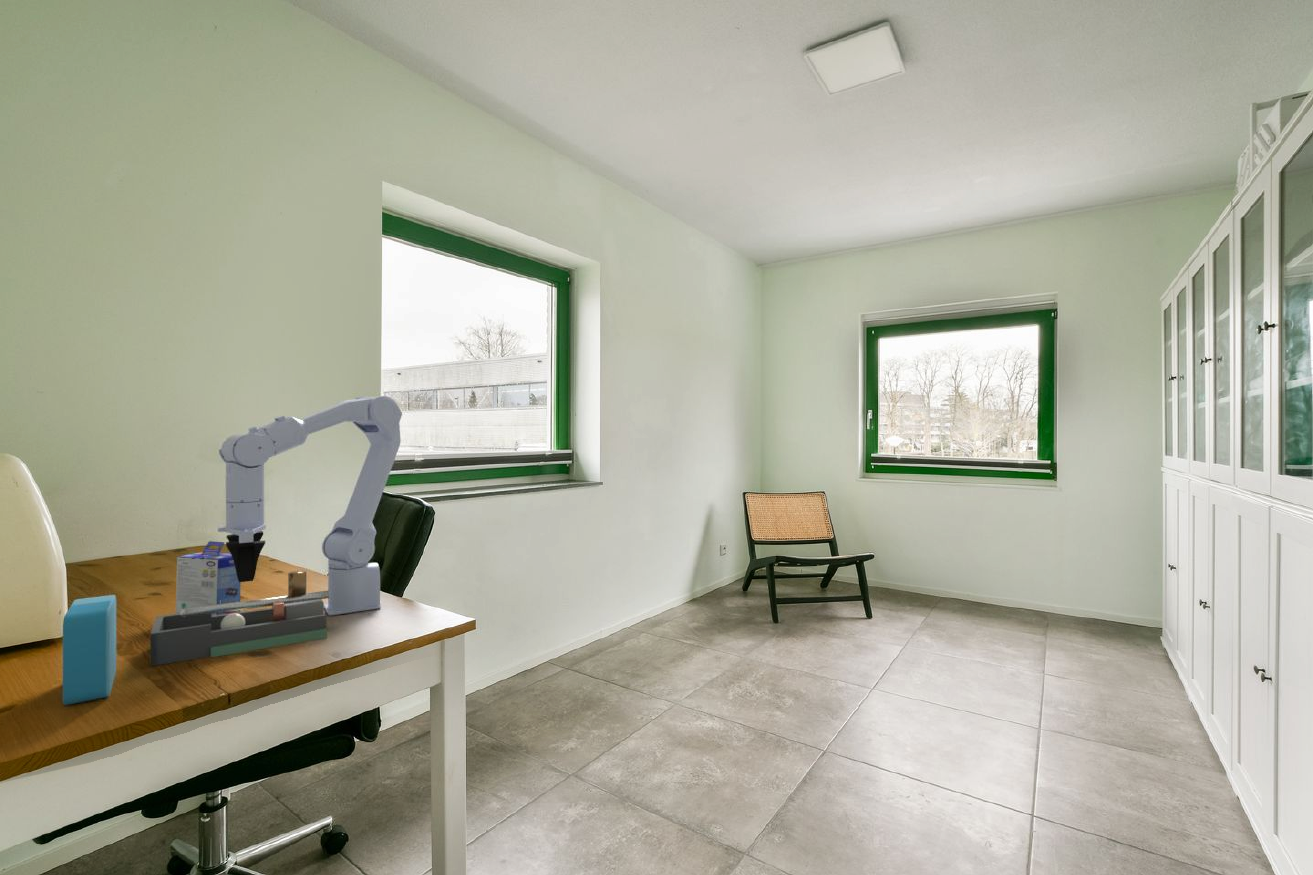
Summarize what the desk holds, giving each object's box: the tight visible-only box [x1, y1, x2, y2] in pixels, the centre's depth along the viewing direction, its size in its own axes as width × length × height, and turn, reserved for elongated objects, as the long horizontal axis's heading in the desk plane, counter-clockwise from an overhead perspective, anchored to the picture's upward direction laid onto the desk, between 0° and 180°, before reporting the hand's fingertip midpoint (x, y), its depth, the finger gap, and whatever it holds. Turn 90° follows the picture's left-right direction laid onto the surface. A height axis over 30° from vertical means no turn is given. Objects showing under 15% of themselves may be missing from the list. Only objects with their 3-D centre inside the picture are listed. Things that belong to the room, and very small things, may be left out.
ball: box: [220, 613, 245, 629], centre depth 104 cm, size 4×4×4 cm
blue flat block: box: [62, 594, 117, 706], centre depth 85 cm, size 12×4×12 cm, turn 38°
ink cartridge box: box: [174, 540, 242, 616], centre depth 117 cm, size 10×6×14 cm, turn 79°
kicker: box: [180, 570, 329, 622], centre depth 106 cm, size 22×5×9 cm, turn 126°
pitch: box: [150, 599, 328, 667], centre depth 105 cm, size 24×12×5 cm, turn 126°
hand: (245, 576), depth 109 cm, fingers open, 7 cm apart
